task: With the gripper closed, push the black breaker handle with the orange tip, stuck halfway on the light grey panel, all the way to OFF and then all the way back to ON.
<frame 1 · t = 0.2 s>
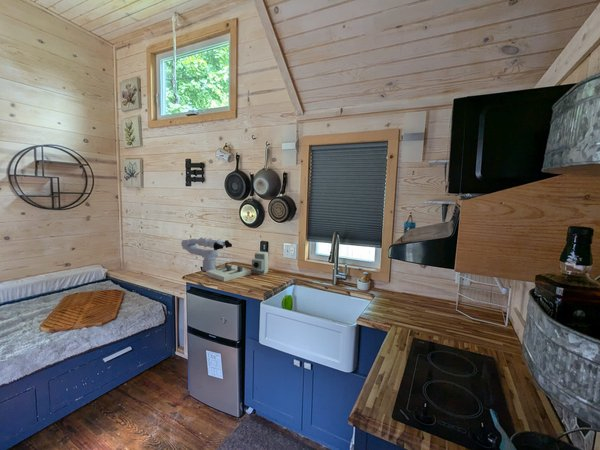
hand: (227, 246, 200), 21 cm above the countertop, tool horizontal, fingers open, 7 cm apart
circuit breaker: (259, 273, 211), on the countertop
breaker panel: (229, 274, 206), on the countertop
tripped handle: (229, 267, 205), point 5 cm above the countertop, slide at 4.0 cm
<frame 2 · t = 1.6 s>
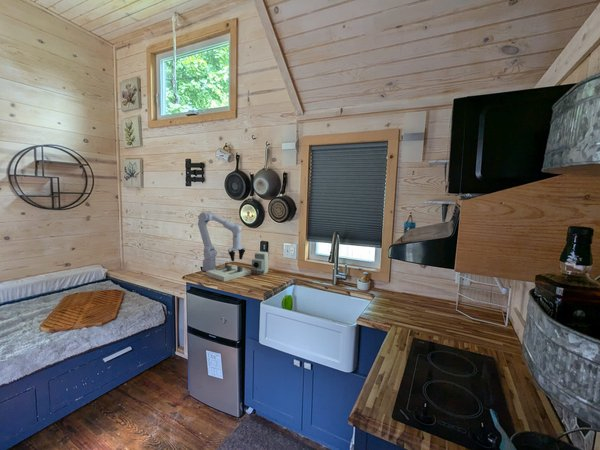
hand: (236, 260, 210), 9 cm above the countertop, tool pointing down, fingers open, 7 cm apart
nothing on the countertop moved.
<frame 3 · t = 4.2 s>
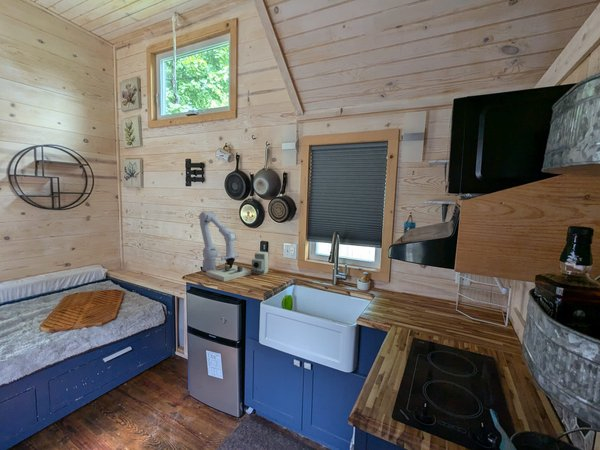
hand: (230, 268, 206), 4 cm above the countertop, tool pointing down, fingers closed
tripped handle: (227, 267, 204), point 5 cm above the countertop, slide at 2.4 cm, touching gripper
everything else where it was.
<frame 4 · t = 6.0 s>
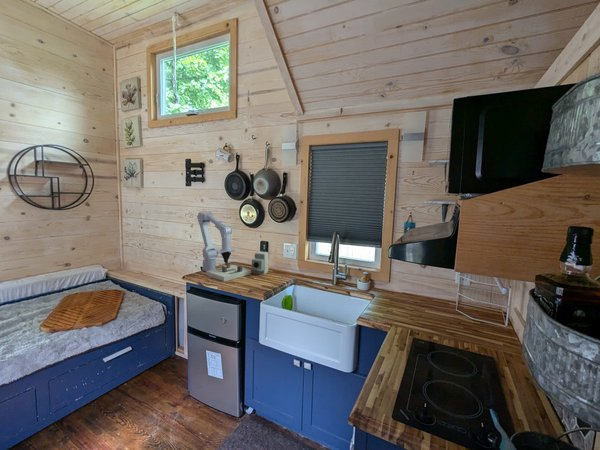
hand: (226, 262, 202), 9 cm above the countertop, tool pointing down, fingers closed
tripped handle: (224, 268, 202), point 5 cm above the countertop, slide at -0.1 cm
everything else where it was.
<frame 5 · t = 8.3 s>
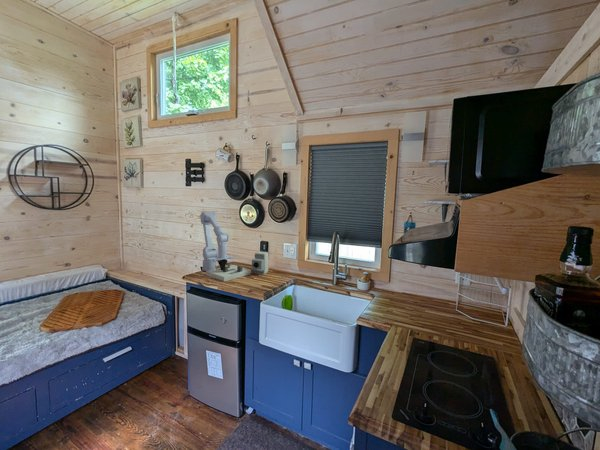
hand: (222, 270, 201), 4 cm above the countertop, tool pointing down, fingers closed
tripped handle: (225, 268, 202), point 5 cm above the countertop, slide at 0.7 cm, touching gripper
everything else where it was.
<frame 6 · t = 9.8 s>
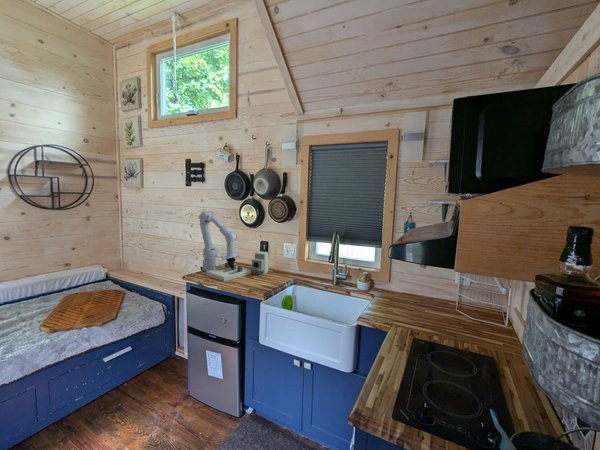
hand: (230, 268, 207), 4 cm above the countertop, tool pointing down, fingers closed
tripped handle: (233, 266, 208), point 5 cm above the countertop, slide at 8.1 cm, touching gripper
everything else where it was.
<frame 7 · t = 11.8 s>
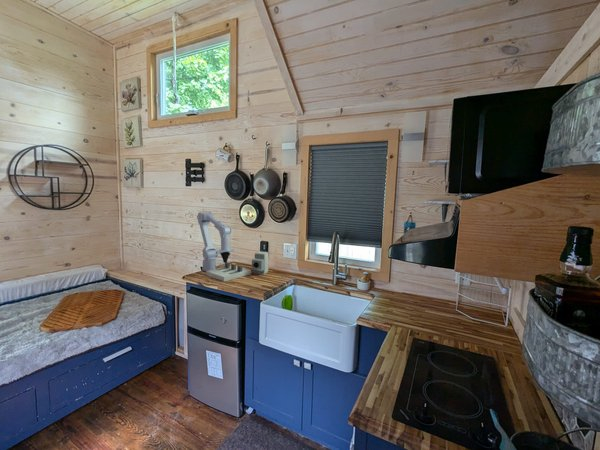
hand: (225, 262, 202), 9 cm above the countertop, tool pointing down, fingers closed
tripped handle: (233, 266, 208), point 5 cm above the countertop, slide at 8.1 cm
everything else where it was.
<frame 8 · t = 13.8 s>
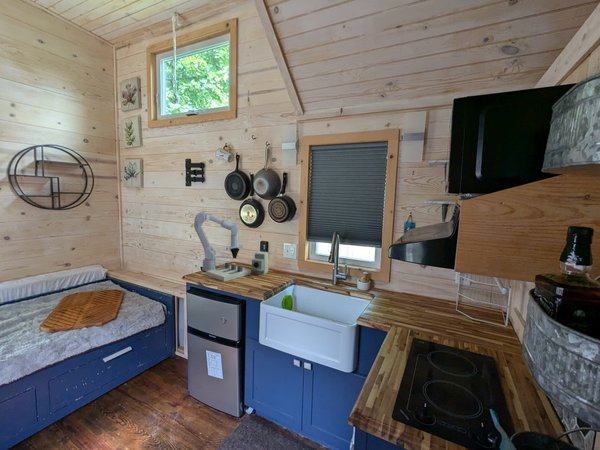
hand: (234, 258, 216), 9 cm above the countertop, tool pointing down, fingers closed
nothing on the countertop moved.
at the end: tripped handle slide at 8.1 cm; circuit breaker moved 0.2 cm from its start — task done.
